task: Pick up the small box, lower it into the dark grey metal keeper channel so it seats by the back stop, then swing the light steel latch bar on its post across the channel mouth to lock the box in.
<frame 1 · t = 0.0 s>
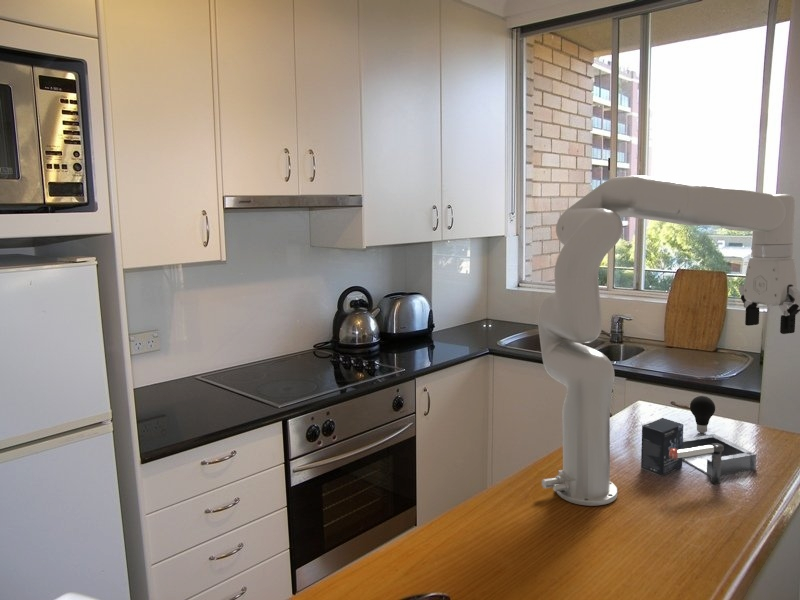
hand: (769, 328, 137), 31 cm above the worktop, fingers open, 9 cm apart
light bulb: (701, 434, 160), on the worktop
keeper: (709, 462, 144), on the worktop
box: (661, 469, 142), on the worktop
latch: (696, 449, 131), point 8 cm above the worktop, hinge at 0.0°
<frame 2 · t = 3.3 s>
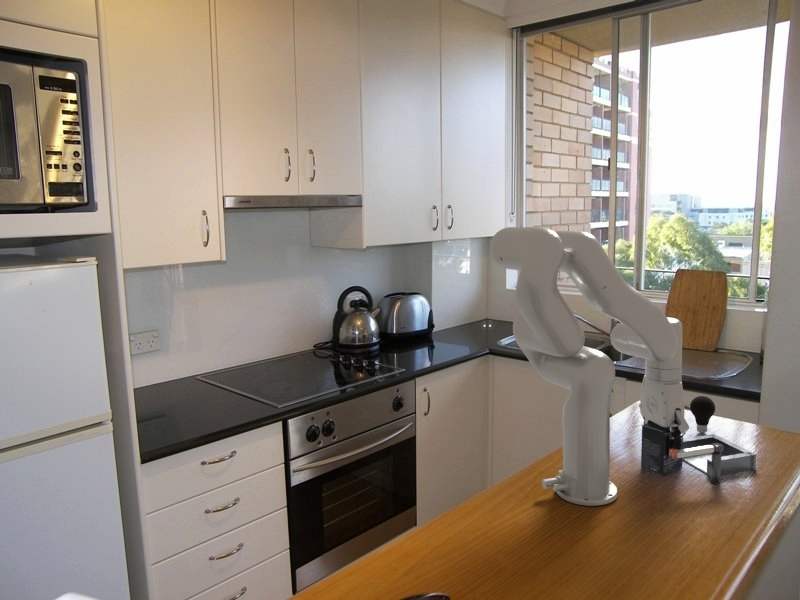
hand: (662, 447, 141), 5 cm above the worktop, fingers closed on box, 7 cm apart
box: (661, 468, 142), on the worktop, touching gripper
everything else where it was.
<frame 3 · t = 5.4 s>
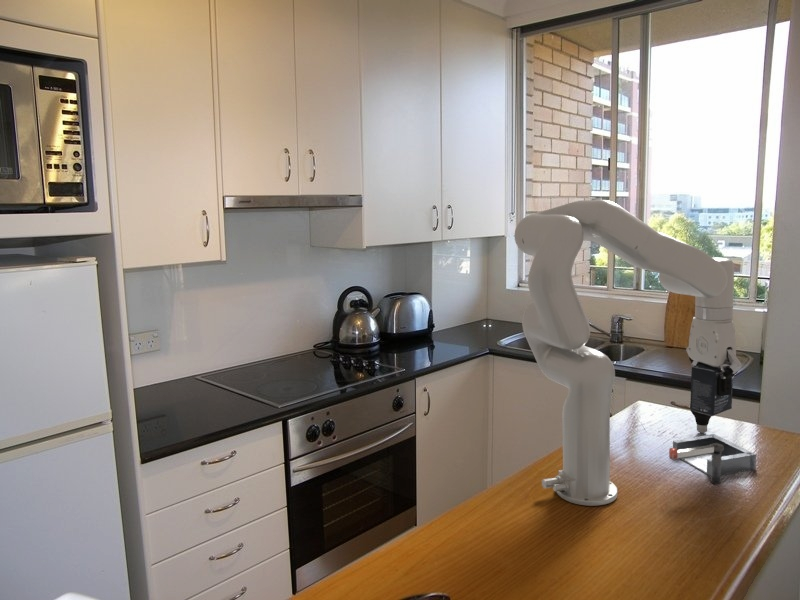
hand: (711, 389, 141), 17 cm above the worktop, fingers closed on box, 7 cm apart
box: (711, 410, 142), point 12 cm above the worktop, touching gripper
everything else where it was.
when the fingers open (7 cm above the worktop, at t = 7.5 s): box drops 1 cm, resting on keeper.
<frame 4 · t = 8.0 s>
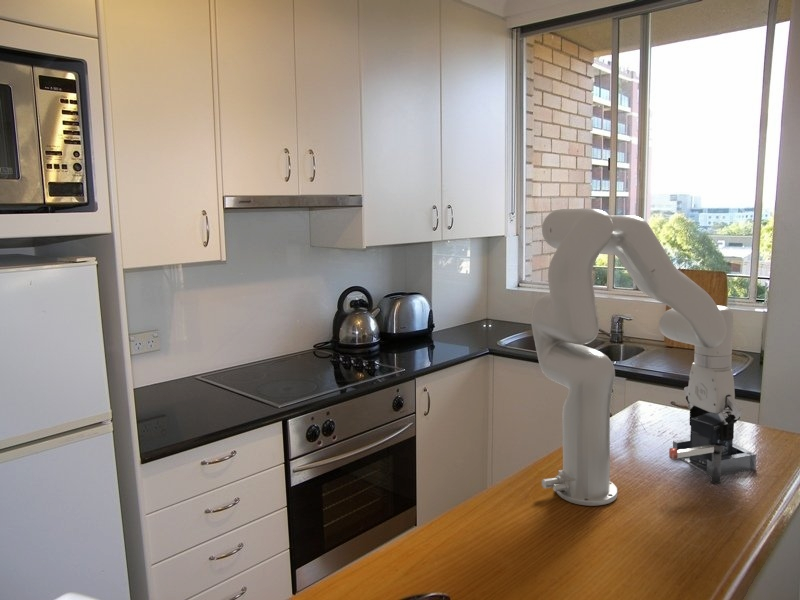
hand: (710, 432, 143), 7 cm above the worktop, fingers open, 9 cm apart
box: (710, 461, 143), resting on keeper
everything else where it was.
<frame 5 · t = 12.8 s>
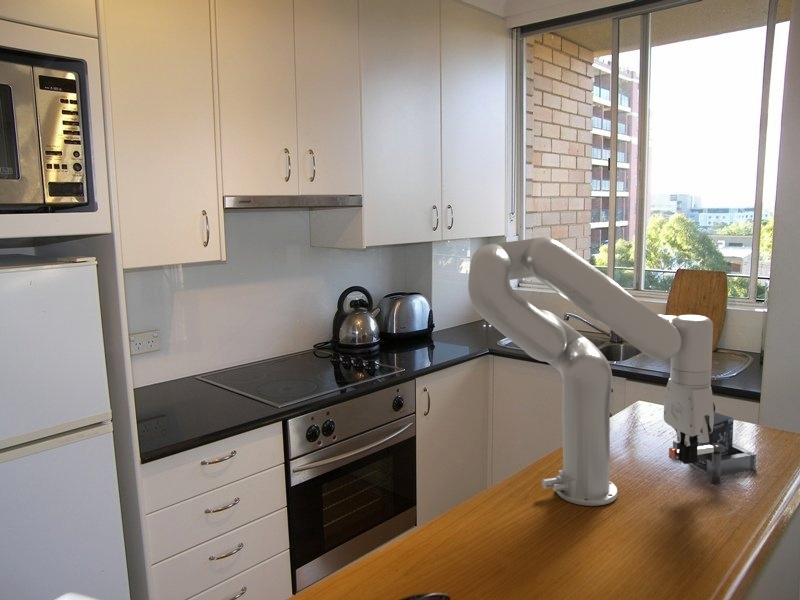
hand: (687, 461, 129), 7 cm above the worktop, fingers closed
latch: (696, 449, 131), point 8 cm above the worktop, hinge at -0.8°, touching gripper
everything else where it was.
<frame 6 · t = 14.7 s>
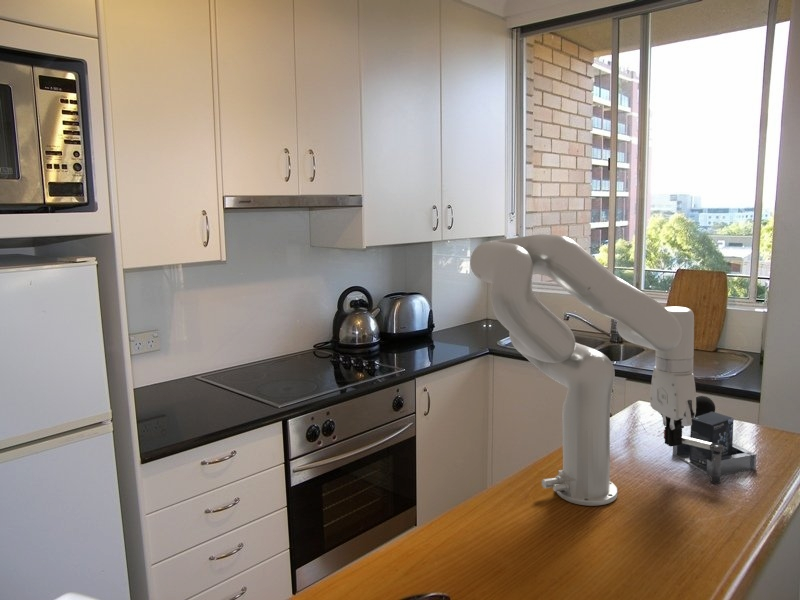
hand: (673, 444, 137), 7 cm above the worktop, fingers closed
latch: (692, 440, 136), point 8 cm above the worktop, hinge at -60.9°, touching gripper
everything else where it was.
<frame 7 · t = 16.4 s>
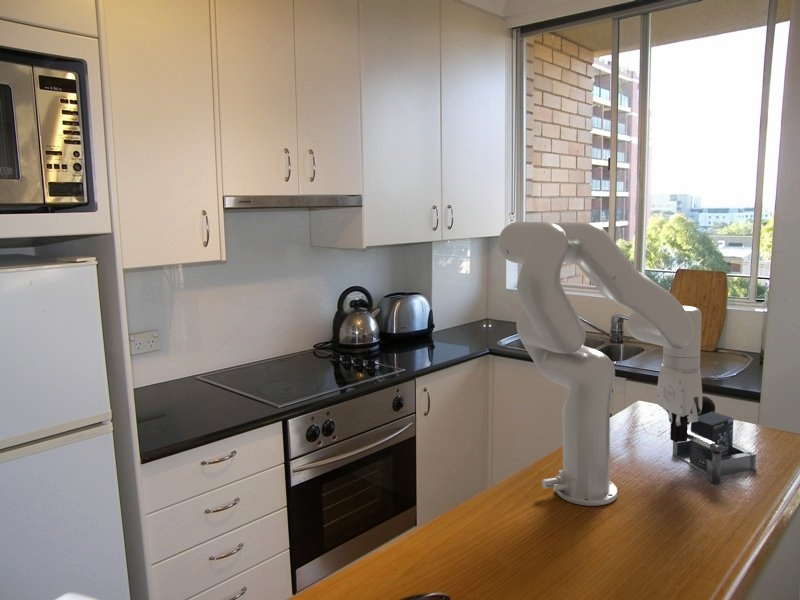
hand: (678, 440, 140), 7 cm above the worktop, fingers closed
latch: (699, 438, 137), point 8 cm above the worktop, hinge at -86.0°, touching gripper
everything else where it was.
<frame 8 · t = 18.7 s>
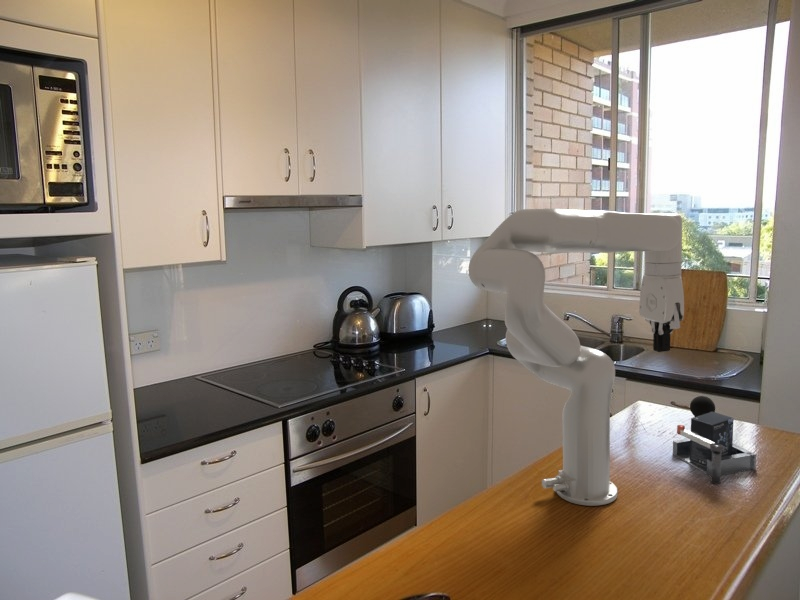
hand: (661, 350, 140), 27 cm above the worktop, fingers closed
latch: (699, 438, 137), point 8 cm above the worktop, hinge at -86.3°
everything else where it was.
at the end: box inside the target area on the keeper (0.7 cm from its centre), point 0.2 cm above the keeper's base; box tilted 0°; latch at -86° (first picture: +0°) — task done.
